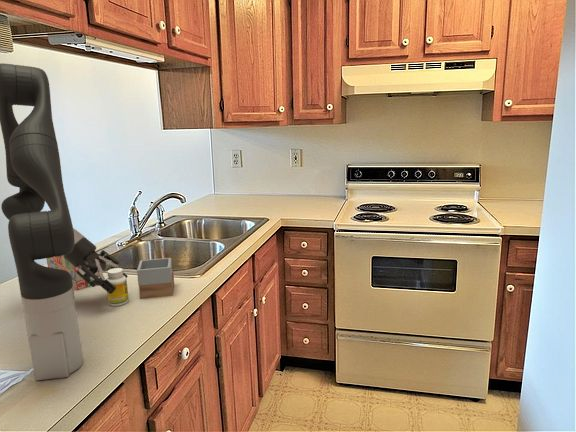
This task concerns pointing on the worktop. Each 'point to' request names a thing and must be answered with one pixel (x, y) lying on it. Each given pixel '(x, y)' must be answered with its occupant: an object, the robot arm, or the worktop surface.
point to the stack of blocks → (67, 266)
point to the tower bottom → (157, 289)
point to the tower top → (154, 271)
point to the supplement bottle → (117, 287)
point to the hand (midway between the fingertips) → (119, 285)
